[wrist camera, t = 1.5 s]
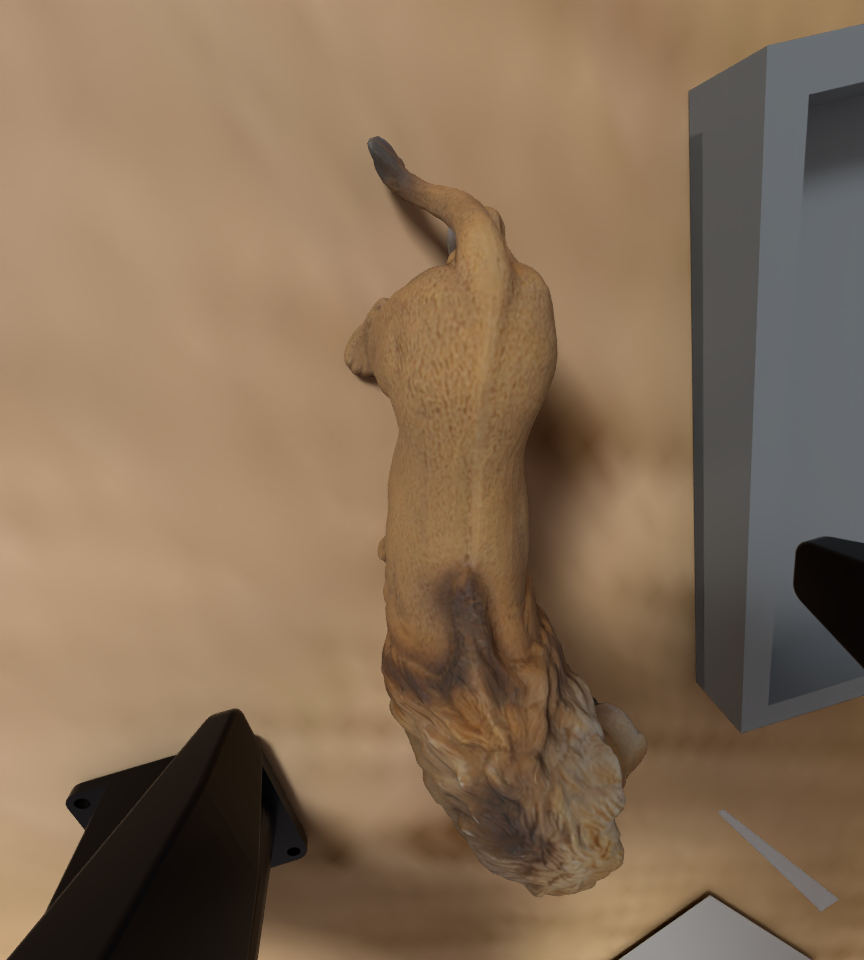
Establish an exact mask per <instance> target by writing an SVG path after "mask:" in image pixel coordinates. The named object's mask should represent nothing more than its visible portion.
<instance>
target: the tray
mask: <svg viewBox="0 0 864 960" xmlns="http://www.w3.org/2000/svg"><path fill="white" fill-rule="evenodd" d="M689 136H690V216H691V296H692V376H693V456H694V536H695V617H696V682H697V683H698V685H699V686H700V687H701V688H702V689H703V690H704V691H705V693H706V694H707V695H708V696H709V697H710V698H711V700H712V701H713V702H714V703H715V704H716V705H717V706H718V708H719V709H720V710H721V711H722V712H723V713H724V714H725V716H726V717H727V718H728V719H729V720H730V721H731V723H732V724H733V725H734V726H735V727H736V728H737V729H738V731H739V732H740V733H745V732H748V731H751V730H754V729H757V728H761V727H764V726H767V725H770V724H773V723H777V722H780V721H783V720H786V719H790V718H793V717H796V716H799V715H802V714H806V713H809V712H812V711H815V710H818V709H822V708H825V707H828V706H831V705H834V704H838V703H841V702H844V701H847V700H851V699H854V698H857V697H860V696H863V695H864V669H863V668H862V667H861V666H860V665H859V663H858V662H857V661H856V660H855V659H854V658H853V657H852V656H851V655H850V654H849V653H848V652H847V651H846V650H845V648H844V647H843V646H842V645H841V644H840V643H839V642H838V641H837V640H836V639H835V638H834V637H833V636H832V635H831V633H830V632H829V631H828V630H827V629H826V628H825V627H824V626H823V625H822V624H821V623H820V622H819V621H818V620H817V618H816V617H815V616H814V615H813V614H812V613H811V612H810V611H809V610H808V609H807V608H806V607H805V606H804V605H803V603H802V602H801V601H800V600H799V599H798V597H797V596H796V594H795V591H794V588H793V575H794V563H795V552H796V548H797V547H798V545H799V544H800V543H802V542H804V541H808V540H811V539H815V538H818V537H822V536H830V537H835V538H841V539H846V540H851V541H856V542H861V543H864V24H861V25H856V26H852V27H847V28H843V29H839V30H834V31H830V32H825V33H821V34H817V35H812V36H808V37H804V38H799V39H795V40H790V41H786V42H782V43H777V44H773V45H768V46H766V47H764V48H763V49H761V50H759V51H757V52H756V53H754V54H752V55H750V56H749V57H747V58H745V59H743V60H742V61H740V62H738V63H736V64H735V65H733V66H731V67H730V68H728V69H726V70H724V71H723V72H721V73H719V74H717V75H716V76H714V77H712V78H710V79H709V80H707V81H705V82H703V83H702V84H700V85H698V86H697V87H695V88H693V89H691V90H690V91H689Z"/></svg>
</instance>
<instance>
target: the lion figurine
mask: <svg viewBox="0 0 864 960" xmlns="http://www.w3.org/2000/svg"><path fill="white" fill-rule="evenodd" d="M367 144H368V149H369V152H370V154H371V156H372V158H373V160H374V166H375V169H376V171H377V173H378V175H379V177H380V178H381V180H382V181H383V183H384V184H385V185H386V186H387V187H388V188H389V189H391V190H392V191H394V192H395V193H396V194H398V195H399V196H400V197H401V198H402V199H403V200H405V201H407V202H410V203H412V204H414V205H416V206H418V207H420V208H421V209H424V210H426V211H428V212H429V213H431V214H432V215H434V216H435V217H437V218H439V219H440V220H442V221H443V222H444V223H445V224H446V225H447V226H448V227H449V229H448V235H447V245H448V252H449V257H448V260H447V264H446V265H445V266H436V267H433V268H430V269H428V270H426V271H424V272H423V273H421V274H419V275H418V276H416V277H415V278H414V279H412V280H411V281H410V282H409V283H408V284H407V285H406V286H405V287H403V288H402V289H400V290H399V291H397V292H396V293H394V294H393V295H392V296H391V297H390V298H389V299H387V298H381V299H379V300H378V301H377V302H376V303H375V304H374V306H373V307H372V309H371V310H370V312H369V313H368V315H367V317H366V319H365V321H364V323H363V324H362V325H360V326H359V327H358V328H357V329H356V331H355V332H354V333H353V335H352V336H351V338H350V340H349V342H348V344H347V346H346V350H345V354H344V358H345V363H346V365H347V366H348V367H349V369H350V370H351V371H352V373H353V374H355V375H358V376H362V377H371V376H375V377H376V379H377V383H378V385H379V387H380V388H381V390H382V392H383V393H384V394H385V395H386V396H387V397H389V398H390V400H391V403H392V406H393V409H394V412H395V416H396V419H397V423H398V427H399V435H398V439H397V443H396V447H395V451H394V455H393V459H392V464H391V468H390V473H389V480H388V515H387V523H386V536H385V537H384V538H383V539H382V540H381V542H380V543H379V546H378V556H379V558H380V559H381V560H383V561H384V562H386V566H385V583H384V589H383V595H384V600H385V602H386V608H385V609H386V620H387V627H388V632H387V636H386V640H385V643H384V647H383V652H382V667H381V670H382V673H383V675H384V682H385V687H386V690H387V693H388V695H389V697H390V698H391V701H390V705H389V706H390V711H391V713H392V715H393V717H394V718H395V719H396V720H397V721H398V722H399V724H400V725H401V726H402V727H403V728H404V729H405V732H406V734H407V736H408V738H409V741H410V744H411V746H412V749H413V751H414V754H415V757H416V760H417V763H418V764H419V766H420V767H421V768H422V769H423V781H424V784H425V786H426V788H427V789H428V791H429V792H430V794H431V795H432V797H433V798H434V800H435V801H436V802H437V803H438V804H440V805H442V806H443V808H444V810H445V811H446V813H447V814H448V815H449V816H450V817H451V818H452V819H453V822H454V825H455V826H456V828H457V829H458V831H459V832H460V834H461V835H462V836H463V837H464V838H465V839H466V841H467V842H468V843H469V845H470V847H471V849H472V851H473V852H474V854H475V855H476V856H477V858H478V860H479V861H480V862H481V863H482V864H483V865H484V866H485V867H486V868H487V869H488V870H489V871H491V872H492V873H494V874H497V875H500V876H502V877H504V878H506V879H508V880H512V881H515V882H519V883H521V884H523V885H524V886H525V887H526V888H527V889H528V890H529V891H530V892H531V893H532V894H533V895H534V896H536V897H541V896H543V895H545V894H548V895H552V896H562V895H568V894H575V893H577V892H580V891H583V890H587V889H590V888H593V887H594V885H595V884H596V881H598V880H600V879H603V878H605V877H606V876H608V875H609V874H610V873H611V872H612V871H614V870H616V869H618V868H619V867H620V866H621V865H622V864H623V859H624V848H623V846H622V843H621V841H620V839H619V838H620V832H619V830H618V828H617V825H616V823H615V818H616V817H617V816H618V815H619V814H620V813H621V812H622V810H623V809H624V804H625V795H624V791H623V788H624V785H625V782H626V779H627V777H628V776H629V774H630V773H631V772H632V771H633V770H634V769H635V768H636V767H637V766H638V765H639V763H640V762H641V761H642V759H643V757H644V755H645V754H646V749H647V741H646V739H645V737H644V736H643V734H642V733H640V732H639V731H637V730H636V728H635V727H634V725H633V723H632V721H631V720H630V718H629V717H628V716H627V715H626V714H625V713H624V712H623V711H622V710H620V709H619V708H617V707H615V706H613V705H611V704H609V703H599V704H598V702H597V701H596V699H595V698H594V697H593V696H592V695H591V692H590V689H589V687H588V685H587V684H586V683H585V682H584V681H583V680H582V679H581V678H580V677H579V676H578V675H576V674H575V673H574V672H573V671H572V670H571V669H570V667H569V666H568V664H567V663H566V662H565V659H564V655H563V651H562V647H561V644H560V642H559V641H558V639H557V637H556V635H555V633H554V629H553V627H552V625H551V624H550V622H549V619H548V617H547V615H546V614H545V613H544V612H543V610H542V609H541V608H540V607H539V606H538V605H537V603H536V600H535V593H534V588H533V583H532V578H531V577H530V575H529V574H528V572H527V565H528V556H529V547H530V524H529V503H528V496H527V488H526V481H525V473H524V453H525V447H526V442H527V439H528V437H529V434H530V431H531V428H532V426H533V424H534V422H535V420H536V417H537V415H538V413H539V411H540V409H541V407H542V404H543V402H544V399H545V397H546V394H547V392H548V389H549V387H550V384H551V382H552V379H553V377H554V373H555V369H556V363H557V338H556V329H555V321H554V312H553V304H552V300H551V295H550V291H549V288H548V286H547V285H546V283H545V282H544V280H543V278H542V277H541V276H540V274H539V273H538V272H537V271H536V270H534V269H533V268H531V267H529V266H527V265H525V264H522V263H519V262H518V261H517V260H516V258H515V257H514V256H513V254H512V253H511V251H510V250H509V248H508V247H507V245H506V240H505V226H504V223H503V220H502V218H501V216H500V214H499V213H498V211H497V210H495V209H494V208H491V207H484V206H483V205H482V204H481V203H480V202H479V201H478V200H476V199H475V198H474V197H473V196H471V195H470V194H468V193H466V192H464V191H461V190H458V189H455V188H450V187H445V186H441V185H433V184H430V183H427V182H425V181H424V180H422V179H420V178H419V177H417V176H416V175H414V174H412V173H410V172H409V171H408V170H407V169H406V168H405V165H404V163H403V161H402V160H401V159H400V158H399V157H398V156H397V154H396V153H395V151H394V150H393V148H392V146H391V145H390V144H389V143H388V142H387V141H386V140H384V139H383V138H381V137H379V136H377V137H373V138H370V139H369V141H368V143H367Z"/></svg>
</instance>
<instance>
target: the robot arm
mask: <svg viewBox="0 0 864 960" xmlns="http://www.w3.org/2000/svg"><path fill="white" fill-rule="evenodd" d="M793 588H794V591H795V594H796V596H797V597H798V599H799V600H800V601H801V602H802V603H803V605H804V606H805V607H806V608H807V609H808V610H809V611H810V612H811V613H812V614H813V615H814V616H815V617H816V618H817V620H818V621H819V622H820V623H821V624H822V625H823V626H824V627H825V628H826V629H827V630H828V631H829V632H830V633H831V635H832V636H833V637H834V638H835V639H836V640H837V641H838V642H839V643H840V644H841V645H842V646H843V647H844V648H845V650H846V651H847V652H848V653H849V654H850V655H851V656H852V657H853V658H854V659H855V660H856V661H857V662H858V663H859V665H860V666H861V667H862V668H863V669H864V543H861V542H856V541H851V540H846V539H841V538H835V537H830V536H822V537H818V538H815V539H811V540H808V541H804V542H802V543H800V544H799V545H798V547H797V548H796V552H795V563H794V575H793ZM66 806H67V808H68V809H69V811H70V812H71V813H72V814H73V816H74V817H75V818H76V819H77V821H78V822H79V823H80V824H81V826H82V827H83V828H84V829H85V832H84V834H83V836H82V838H81V840H80V842H79V844H78V846H77V848H76V850H75V852H74V854H73V856H72V858H71V860H70V862H69V864H68V867H67V869H66V871H65V873H64V875H63V877H62V879H61V881H60V883H59V885H58V887H57V889H56V891H55V893H54V895H53V897H52V899H51V901H50V903H49V905H48V908H47V910H46V912H45V914H44V915H43V916H42V918H41V919H40V920H39V921H38V922H37V924H36V925H35V926H34V927H33V929H32V930H31V931H30V932H29V933H28V935H27V936H26V937H25V938H24V939H23V941H22V942H21V943H20V944H19V945H18V947H17V948H16V949H15V950H14V951H13V953H12V954H11V955H10V956H9V957H8V959H7V960H258V953H259V945H260V938H261V931H262V924H263V917H264V909H265V902H266V895H267V888H268V880H269V873H270V868H271V867H275V866H278V865H281V864H284V863H288V862H291V861H294V860H297V859H300V858H302V857H303V856H304V855H305V854H306V852H307V843H308V840H307V836H306V834H305V832H304V830H303V829H302V827H301V825H300V823H299V821H298V819H297V817H296V815H295V813H294V811H293V809H292V807H291V805H290V804H289V802H288V800H287V798H286V796H285V794H284V792H283V790H282V788H281V786H280V784H279V782H278V781H277V779H276V777H275V775H274V773H273V771H272V769H271V767H270V765H269V763H268V761H267V759H266V757H265V756H264V754H263V752H262V750H261V748H260V745H259V743H258V741H257V739H256V737H255V735H254V733H253V731H252V729H251V728H250V726H249V724H248V722H247V720H246V718H245V716H244V714H243V713H242V711H240V710H239V709H230V710H227V711H224V712H220V713H217V714H214V715H212V716H210V717H209V718H208V719H207V720H206V721H205V722H204V723H203V724H202V725H201V727H200V728H199V729H198V730H197V731H196V733H195V734H194V735H193V736H192V737H191V739H190V740H189V741H188V742H187V743H186V745H185V746H184V747H183V748H182V749H181V751H180V752H179V753H178V754H177V755H175V756H172V757H168V758H165V759H161V760H158V761H155V762H151V763H148V764H144V765H141V766H138V767H134V768H131V769H127V770H124V771H121V772H117V773H114V774H110V775H107V776H104V777H100V778H97V779H93V780H90V781H86V782H83V783H80V784H78V785H76V786H75V787H74V788H73V789H72V791H71V793H70V795H69V796H68V798H67V800H66Z"/></svg>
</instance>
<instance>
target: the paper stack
mask: <svg viewBox="0 0 864 960" xmlns="http://www.w3.org/2000/svg"><path fill="white" fill-rule="evenodd" d="M718 813H719V814H720V815H721V816H722V817H723V818H724V819H725V820H726V821H727V822H728V823H729V824H730V825H731V826H732V827H733V828H734V829H735V830H736V831H737V832H738V833H740V834H741V835H742V836H743V837H744V838H745V839H746V840H747V841H748V842H749V843H750V844H751V845H752V846H753V847H754V848H755V849H756V850H757V851H758V852H759V853H761V854H762V855H763V856H764V857H765V858H766V859H767V860H768V861H769V862H770V863H771V864H772V865H773V866H774V867H775V868H776V869H777V870H778V871H779V872H780V873H782V874H783V875H784V876H785V877H786V878H787V879H788V880H789V881H790V882H791V883H792V884H793V885H794V886H795V887H796V888H797V889H798V890H799V891H800V892H801V893H802V894H804V895H805V896H806V897H807V898H808V899H809V900H810V901H811V902H812V903H813V904H814V905H815V906H816V907H817V908H818V910H819V911H820V912H821V911H823V910H824V909H826V908H827V907H828V906H830V905H831V904H833V903H834V902H836V901H837V900H839V899H838V898H837V897H835V896H834V895H833V894H832V893H830V892H829V891H828V890H827V889H825V888H824V887H823V886H821V885H820V884H819V883H818V882H816V881H815V880H814V879H812V878H811V877H810V876H809V875H807V874H806V873H805V872H803V871H802V870H801V869H800V868H798V867H797V866H796V865H794V864H793V863H792V862H791V861H789V860H788V859H787V858H785V857H784V856H783V855H782V854H780V853H779V852H778V851H776V850H775V849H774V848H773V847H771V846H770V845H769V844H767V843H766V842H765V841H764V840H762V839H761V838H760V837H758V836H757V835H756V834H755V833H753V832H752V831H751V830H749V829H748V828H747V827H746V826H744V825H743V824H742V823H741V822H739V821H738V820H737V819H735V818H734V817H733V816H732V815H730V814H729V813H728V812H726V811H725V810H724V809H722V810H721V811H720V812H718ZM619 960H811V959H810V958H808V957H806V956H805V955H803V954H802V953H800V952H799V951H797V950H795V949H794V948H792V947H791V946H789V945H788V944H786V943H784V942H783V941H781V940H780V939H778V938H777V937H775V936H773V935H772V934H770V933H769V932H767V931H766V930H764V929H762V928H761V927H759V926H758V925H756V924H755V923H753V922H751V921H750V920H748V919H747V918H745V917H744V916H742V915H740V914H739V913H737V912H736V911H734V910H733V909H731V908H729V907H728V906H726V905H725V904H723V903H722V902H720V901H718V900H717V899H715V898H714V897H712V896H711V895H710V896H708V897H707V898H705V899H704V900H703V901H701V902H700V903H698V904H697V905H695V906H694V907H693V908H691V909H690V910H688V911H687V912H686V913H684V914H683V915H681V916H680V917H678V918H677V919H676V920H674V921H673V922H671V923H670V924H669V925H667V926H666V927H664V928H663V929H661V930H660V931H659V932H657V933H656V934H654V935H653V936H652V937H650V938H649V939H647V940H646V941H644V942H643V943H642V944H640V945H639V946H637V947H636V948H635V949H633V950H632V951H630V952H629V953H627V954H626V955H625V956H623V957H622V958H620V959H619Z"/></svg>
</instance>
